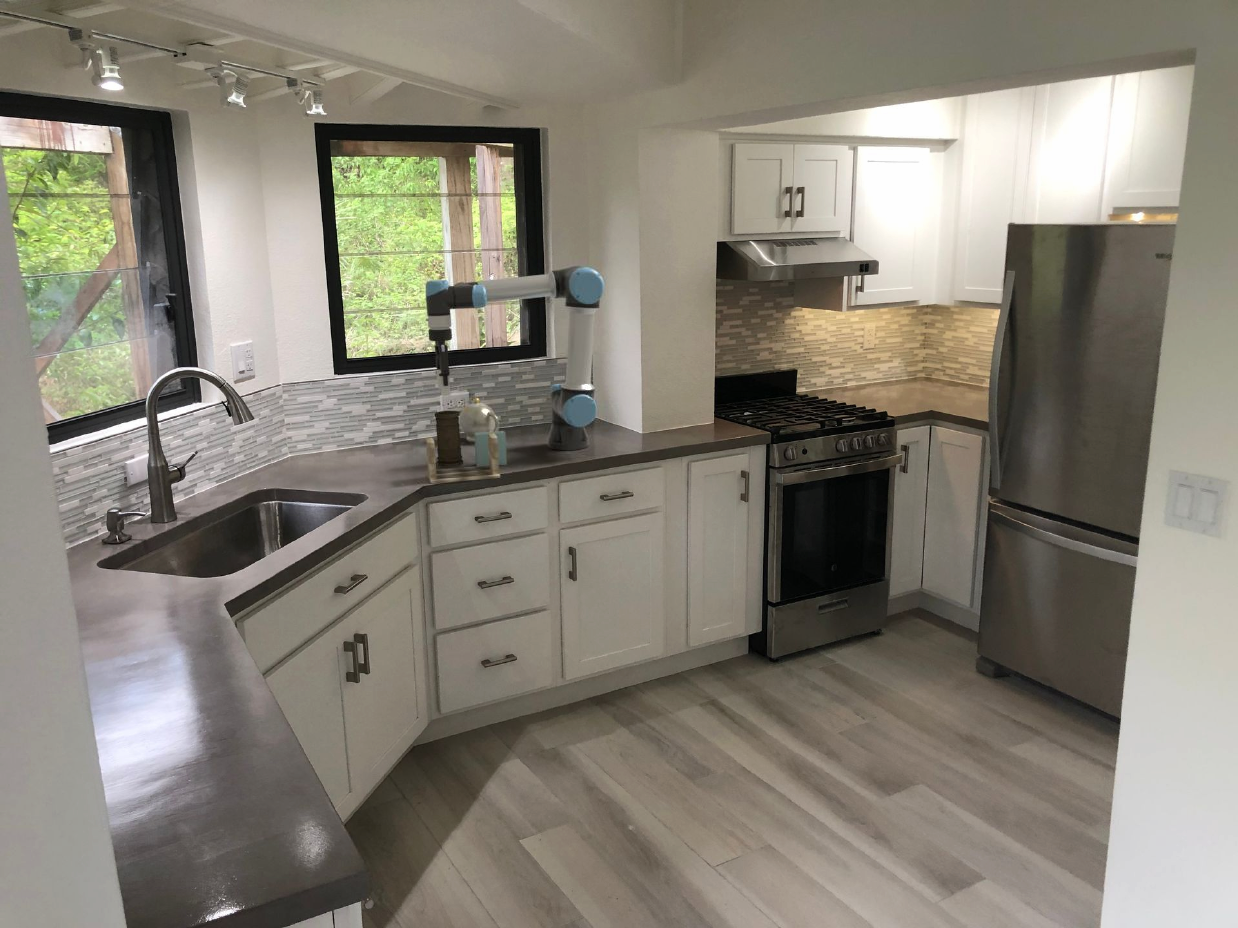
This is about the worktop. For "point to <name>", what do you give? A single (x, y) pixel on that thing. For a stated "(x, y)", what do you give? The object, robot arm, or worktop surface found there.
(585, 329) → the robot arm
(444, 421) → the container
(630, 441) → the worktop surface
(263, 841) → the worktop surface
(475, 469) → the wooden rack
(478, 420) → the teapot
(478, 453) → the door panel
